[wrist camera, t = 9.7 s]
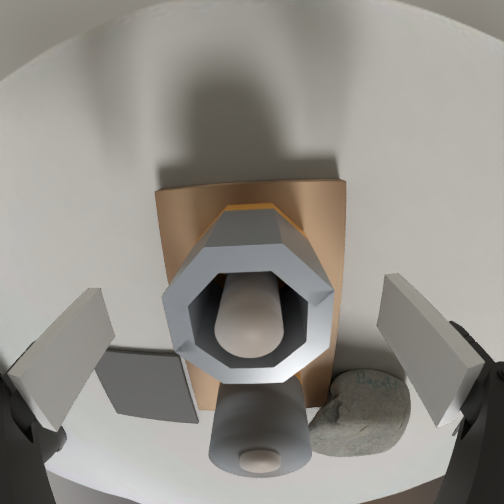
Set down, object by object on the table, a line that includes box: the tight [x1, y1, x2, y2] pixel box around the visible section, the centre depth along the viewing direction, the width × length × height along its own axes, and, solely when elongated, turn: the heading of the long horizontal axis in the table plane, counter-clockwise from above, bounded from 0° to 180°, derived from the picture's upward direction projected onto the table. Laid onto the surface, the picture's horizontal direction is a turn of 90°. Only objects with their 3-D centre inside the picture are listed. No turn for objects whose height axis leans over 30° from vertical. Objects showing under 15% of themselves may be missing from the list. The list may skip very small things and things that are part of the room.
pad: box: [94, 349, 199, 424], centre depth 25 cm, size 10×10×1 cm
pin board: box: [155, 179, 346, 478], centre depth 17 cm, size 12×20×10 cm, turn 3°
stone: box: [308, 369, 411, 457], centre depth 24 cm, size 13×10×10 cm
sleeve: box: [162, 203, 335, 384], centre depth 15 cm, size 7×7×8 cm
